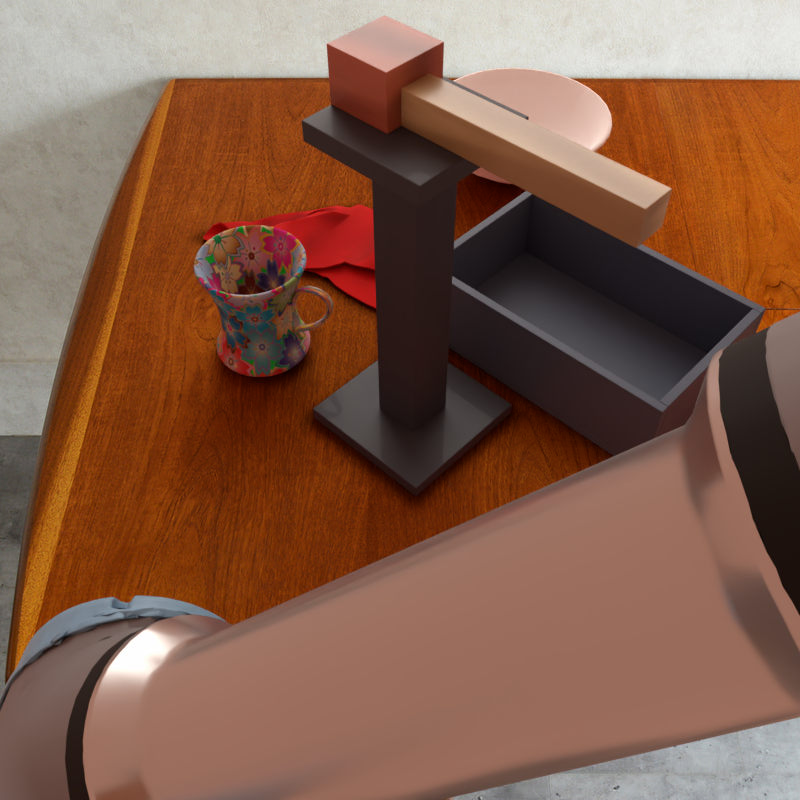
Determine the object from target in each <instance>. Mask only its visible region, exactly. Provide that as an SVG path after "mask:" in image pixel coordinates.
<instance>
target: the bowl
mask: <svg viewBox="0 0 800 800" xmlns="http://www.w3.org/2000/svg"><path fill="white" fill-rule="evenodd" d="M453 81H454V82H456V83H459V84H461V85H463V86H465V87H467V88H469V89H471V90H473V91H475V92H478V93H480V94H482V95H484V96H486V97H488V98H490V99H492V100H495V101H497V102H499V103H501V104H503V105H505V106H507V107H509V108H511V109H514V110H516V111H518V112H520V113H522V114H524V115H526V116H528V117H529V121H531V122H533V123H535V124H537V125H539V126H541V127H543V128H546V129H548V130H550V131H552V132H554V133H556V134H558V135H560V136H562V137H565V138H567V139H569V140H571V141H573V142H575V143H577V144H579V145H581V146H583V147H586V148H588V149H590V150H592V151H594V152H596V153H597V151H598V150H599V149H600V148H602V147H603V146H604V145H605V143H606V142H607V140H608V139H609V137H610V136H611V133H612V130H613V129H612V128H613V120H612V119H613V116H612V113H611V111H610V109H609V107H608V104H607V103H606V102H605V101H604V100H603V99H602V97H601V96H600V95H598V94H597V92H595V91H593V90H592V89H591V88H590V87H589V86H587V85H585V84H584V83H581V82H579V81H577V80H575V79H573V78H570V77H568V76H566V75H562V74H559V73H555V72H551V71H548V70H542V69H541V70H540V69H534V68H526V67H525V68H524V67H523V68H522V67H502V68H500V67H499V68H491V69H483V70H480V71H479V70H478V71H476V72H471V73H468V74H465V75H463V76H460V77H459V78H456V79H454V80H453ZM473 174H474V175H476V176H477V177H481V178H484V179H486V180H491V181H494V182H497V183H500V184H501V183H502V184H507V185H513V184H512V183H510V182H508V181H506V180H504V179H503V178H501V177H499V176H497V175H495V174H493V173H491V172H489V171H487V170H485V169H483V168H481V167H480V168H479V169H477V170H476V171H474V172H473V173H472V175H473Z"/></svg>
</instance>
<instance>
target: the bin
mask: <svg viewBox="0 0 800 800" xmlns="http://www.w3.org/2000/svg"><path fill="white" fill-rule="evenodd" d="M766 310H767V308H766V307H764V306H763V305H761V304H759V303H757V302H755V301H753V300H751V299H749V298H747V297H745V296H743V295H741V294H739V293H737V292H735V291H734V290H732V289H729V288H728V287H726V286H724V285H722V284H720V283H719V282H716V281H714V280H713V279H710V278H709V277H707V276H705V275H702V274H701V273H699V272H697V271H695V270H693V269H691V268H689V267H687V266H685V265H683V264H681V263H679V262H677V261H676V260H674V259H672V258H670V257H668V256H666V255H664V254H662V253H660V252H658V251H656V250H654V249H652V248H651V247H649V246H646V245H645V244H643V243H642V244H641V245H640V246H638V247H637V248H635V247H633V246H631V245H629V244H627V243H625V242H623V241H621V240H619V239H618V238H616V237H614V236H612V235H610V234H608V233H606V232H604V231H602V230H600V229H598V228H596V227H595V226H593V225H591V224H589V223H587V222H585V221H583V220H581V219H579V218H577V217H575V216H573V215H572V214H570V213H568V212H566V211H564V210H562V209H560V208H558V207H556V206H554V205H552V204H550V203H549V202H547V201H545V200H543V199H541V198H539V197H537V196H535V195H533V194H531V193H529V192H527V191H526V190H524V192H522V193H520V195H518V196H517V197H516V198H513V199H512V200H511V201H510V202H508V203H507V204H505V205H504V206H502V207H500V208H499V209H498V210H497V211H495V212H494V213H492V214H491V215H490V216H488V217H487V218H485V219H484V220H482V221H481V222H480V223H478V224H476V225H475V226H474V227H472V228H471V229H470V230H468V231H467V232H465V233H463V234H462V235H461V236H459V237H458V238H457V239H454V254H453V273H452V292H451V311H450V330H449V349H450V350H451V351H453V352H454V353H456V354H458V355H459V356H460V357H462V358H463V359H465V360H466V361H468V362H470V363H471V364H473V365H474V366H476V367H477V368H479V369H481V370H482V371H483V372H485V373H487V374H488V375H489V376H491V377H492V378H494V379H496V380H497V381H499V382H500V383H501V384H503V385H505V386H506V387H507V388H510V389H511V390H513V391H514V392H515V393H517V394H519V395H520V396H522V397H523V398H525V399H526V400H528V401H529V402H530V403H532V404H533V405H535V406H537V407H538V408H540V409H541V410H543V411H544V412H546V413H547V414H549V415H550V416H552V417H553V418H555V419H556V420H558V421H559V422H561V423H562V424H564V425H566V426H567V427H569V428H570V429H572V430H573V431H574V432H576V433H578V434H580V435H581V436H583V437H584V438H585V439H588V440H589V441H590V442H592V443H593V444H595V445H596V446H598V447H599V448H601V449H602V450H603V451H605V452H606V453H608V454H610V455H611V456H612V457H614V456H616V455H618V454H620V453H623V452H625V451H627V450H629V449H632V448H634V447H636V446H638V445H641V444H643V443H645V442H647V441H650V440H652V439H654V438H656V437H659V436H661V435H663V434H665V433H668V432H670V431H672V430H675V429H677V428H679V427H681V426H684V425H685V424H686V422H687V421H688V419H689V418H690V417H691V415H692V413H693V410H694V407H695V404H696V401H697V398H698V395H699V392H700V389H701V386H702V383H703V380H704V377H705V374H706V371H707V368H708V365H709V363H710V361H711V359H712V357H713V355H715V354H716V353H717V352H718V351H720V350H722V349H723V348H725V347H727V346H730V345H732V344H734V343H736V342H738V341H740V340H743V339H745V338H747V337H749V336H751V335H753V334H755V333H757V332H758V329H759V327H760V324H761V322H762V320H763V317H764V315H765V313H766Z"/></svg>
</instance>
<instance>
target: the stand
mask: <svg viewBox="0 0 800 800" xmlns="http://www.w3.org/2000/svg"><path fill="white" fill-rule="evenodd" d="M443 80H445V81H447V82H449V83H451V84H453V85H455V86H457V87H459V88H461V89H463V90H466V91H468V92H470V93H472V94H474V95H476V96H478V97H480V98H482V99H485V100H487V101H489V102H491V103H493V104H495V105H497V106H499V107H501V108H503V109H506V110H508V111H510V112H512V113H514V114H516V115H518V116H520V117H522V118H525V119H527V120H529V117H528V116H526V115H524V114H522V113H520V112H518V111H516V110H514V109H511V108H509V107H507V106H505V105H503V104H501V103H499V102H497V101H495V100H492V99H490V98H488V97H486V96H484V95H482V94H480V93H478V92H475V91H473V90H471V89H469V88H467V87H465V86H463V85H461V84H459V83H456V82H454V80H452V79H450V78H448V77H446V76H444V75H443ZM301 128H302V129H301V130H302V139H303V142H305V143H306V144H307V145H309V146H310V147H311V146H312V147H313V148H315V149H316V150H318V151H320V152H322V153H323V154H325V155H326V156H329V157H330V158H332V159H333V160H336V161H337V162H339V163H341V164H343V165H345V166H346V167H348V168H350V169H351V170H353V171H355V172H356V173H358V174H360V175H362V176H363V177H366V179H369V180H370V181H371V190H372V191H371V192H372V209H373V225H374V255H375V286H376V309H375V311H376V313H375V314H376V315H375V316H376V342H377V343H376V345H377V360H376V361H374V362H373V363H372V364H370V365H368V367H366V368H365V369H363V370H362V371H361V372H360V373H358V374H357V375H356V376H355V377H353V378H351V379H350V380H348V382H346V383H345V384H343V385H342V386H341V387H340V388H338V389H337V390H335V391H334V392H333V393H332V394H330V395H329V396H328V397H326V398H325V399H323V401H321V402H320V403H318V404H317V405H316V406H314V407H313V408H312V414H313V418H314V419H315V420H316V421H318V422H319V423H320V424H322V426H324V427H325V428H327V429H328V430H329V431H331V432H332V433H334V435H336V436H337V437H338V438H340V439H341V440H342V441H344V442H345V443H346V444H347V445H349V446H350V447H351V448H353V449H354V450H355V451H357V452H358V453H359V454H360V455H361V456H363V457H364V458H365V459H366V460H368V461H370V462H371V463H372V464H373V465H374V466H376V467H377V468H378V469H380V470H381V471H382V472H383V473H385V474H386V475H388V476H389V477H390V478H391V479H393V480H394V481H395V482H397V483H398V484H399V485H400V486H402V487H403V488H404V489H406V490H407V491H408V492H409V493H411V494H412V495H413V496H414V497H418V495H420V494H421V493H422V492H423V491H424V490H425V489H426V488H427V487H428V486H430V485H431V484H432V483H433V482H434V481H436V479H438V478H439V477H441V475H443V474H444V473H445V472H446V471H447V470H448V469H449V468H451V466H453V465H454V464H455V463H457V461H458V460H460V459H461V458H462V457H463V456H464V455H465V454H466V453H468V451H470V450H471V449H472V448H473V447H474V446H475V445H476V444H478V443H479V442H481V440H482V439H484V438H485V436H486V435H488V434H489V433H490V432H491V431H492V430H494V429H495V428H496V427H497V426H498V425H499V424H501V423H502V422H503V421H504V420H505V419H506V418H507V417H508V416H509V415H510V414H512V406H513V404H512V403H511V402H509V401H508V400H506V399H504V398H503V397H501V396H500V395H499V394H497V393H496V392H494V391H493V390H492V389H489V388H488V387H486V386H485V385H484V384H482V383H480V382H479V381H478V380H476V379H474V377H471V375H468V374H467V373H466V372H464V371H462V370H461V369H460V368H458V367H457V366H455V365H454V364H452V363H451V362H449V349H450V348H449V330H450V311H451V292H452V273H453V254H454V241H455V232H456V215H457V214H456V213H457V196H458V195H457V193H458V183H459V182H460V181H463V179H466V178H467V177H468V176H470V175H471V174H473V172H474V171H476V170H477V169H479V168H480V167H479V166H478V165H476V164H474V163H472V162H470V161H468V160H466V159H464V158H462V157H460V156H458V155H456V154H455V153H453V152H451V151H449V150H447V149H445V148H443V147H441V146H439V145H437V144H435V143H433V142H432V141H430V140H428V139H426V138H424V137H422V136H420V135H418V134H416V133H414V132H412V131H410V130H409V129H407V128H405V127H403V126H400V127H399V128H397V129H395V130H393V131H392V132H390V133H388V134H386V133H384V132H382V131H380V130H378V129H377V128H375V127H373V126H371V125H369V124H367V123H365V122H363V121H362V120H360V119H358V118H356V117H354V116H352V115H350V114H348V113H347V112H345V111H343V110H341V109H339V108H337V107H335V106H333V105H332V104H331V103H330V104H329V105H328V106H326V107H324V108H322V109H320V110H319V111H316V112H315V113H313V114H311V115H309V116H307V117H306V118H304V119H302V120H301Z"/></svg>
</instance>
